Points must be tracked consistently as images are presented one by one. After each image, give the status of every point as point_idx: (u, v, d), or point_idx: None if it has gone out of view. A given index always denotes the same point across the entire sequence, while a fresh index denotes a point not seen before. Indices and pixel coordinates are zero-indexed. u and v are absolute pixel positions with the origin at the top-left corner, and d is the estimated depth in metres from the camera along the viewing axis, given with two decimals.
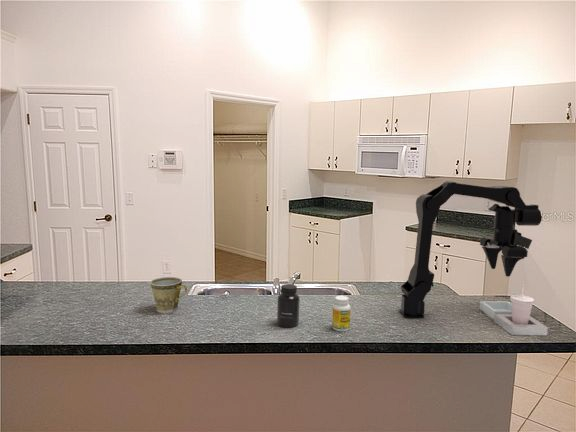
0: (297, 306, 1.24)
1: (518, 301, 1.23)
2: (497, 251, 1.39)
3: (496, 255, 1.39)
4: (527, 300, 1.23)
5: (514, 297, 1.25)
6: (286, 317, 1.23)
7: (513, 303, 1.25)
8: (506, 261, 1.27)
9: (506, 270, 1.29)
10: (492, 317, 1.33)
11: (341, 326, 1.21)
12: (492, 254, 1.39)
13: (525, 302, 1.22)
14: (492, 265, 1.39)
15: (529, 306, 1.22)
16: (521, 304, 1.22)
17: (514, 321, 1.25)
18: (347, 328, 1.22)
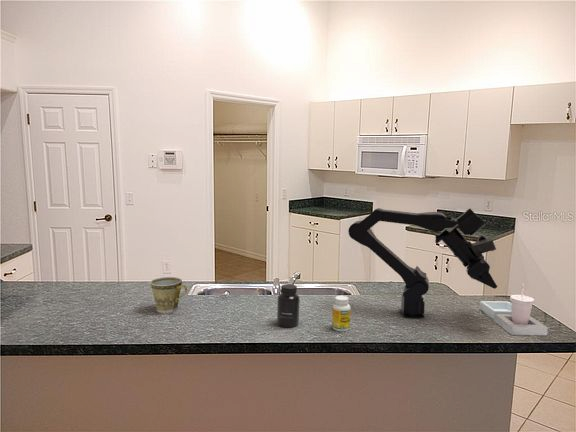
0: (297, 306, 1.24)
1: (518, 301, 1.23)
2: None
3: None
4: (527, 300, 1.23)
5: (514, 297, 1.25)
6: (286, 317, 1.23)
7: (513, 303, 1.25)
8: (479, 279, 1.22)
9: (488, 285, 1.22)
10: (492, 317, 1.33)
11: (341, 326, 1.21)
12: None
13: (525, 302, 1.22)
14: None
15: (529, 306, 1.22)
16: (521, 304, 1.22)
17: (514, 321, 1.25)
18: (347, 328, 1.22)
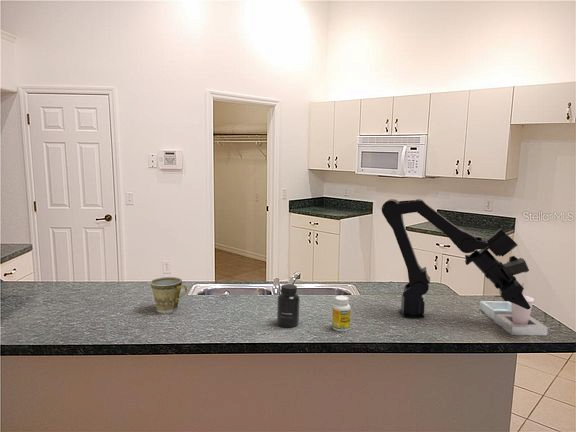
0: (297, 306, 1.24)
1: None
2: None
3: None
4: (527, 300, 1.23)
5: None
6: (286, 317, 1.23)
7: (513, 303, 1.25)
8: (512, 300, 1.21)
9: (521, 305, 1.21)
10: (492, 317, 1.33)
11: (341, 326, 1.21)
12: None
13: None
14: None
15: None
16: None
17: (514, 321, 1.25)
18: (347, 328, 1.22)
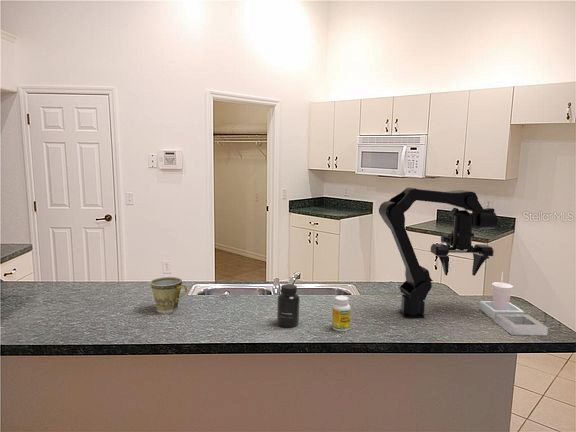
0: (297, 306, 1.24)
1: (502, 288, 1.33)
2: None
3: None
4: (508, 286, 1.34)
5: (496, 285, 1.35)
6: (286, 317, 1.23)
7: (496, 290, 1.35)
8: None
9: None
10: (492, 317, 1.33)
11: (341, 326, 1.21)
12: None
13: (508, 288, 1.33)
14: None
15: (510, 292, 1.34)
16: (504, 291, 1.33)
17: (497, 307, 1.35)
18: (347, 328, 1.22)
